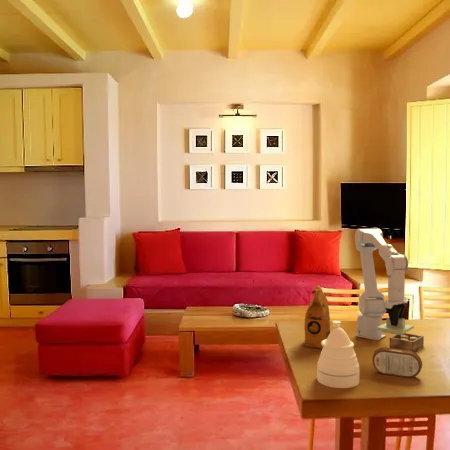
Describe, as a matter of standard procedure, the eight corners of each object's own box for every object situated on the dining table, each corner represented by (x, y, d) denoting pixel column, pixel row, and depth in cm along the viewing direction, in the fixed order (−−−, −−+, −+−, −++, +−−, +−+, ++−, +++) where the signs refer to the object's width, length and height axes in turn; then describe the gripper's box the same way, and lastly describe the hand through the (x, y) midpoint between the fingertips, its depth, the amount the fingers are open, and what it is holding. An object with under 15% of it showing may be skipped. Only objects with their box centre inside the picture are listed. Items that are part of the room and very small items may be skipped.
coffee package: (300, 347, 191) (300, 289, 190) (308, 338, 202) (308, 284, 201) (326, 350, 187) (327, 291, 186) (332, 341, 198) (333, 285, 197)
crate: (389, 348, 189) (389, 337, 189) (400, 342, 196) (400, 332, 196) (413, 352, 183) (413, 342, 183) (423, 346, 190) (423, 336, 190)
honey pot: (312, 373, 162) (312, 318, 161) (351, 372, 163) (352, 317, 162) (323, 388, 150) (323, 329, 149) (365, 387, 150) (365, 328, 149)
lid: (376, 332, 183) (377, 319, 183) (388, 326, 191) (388, 313, 191) (402, 336, 177) (403, 323, 177) (413, 330, 185) (414, 317, 185)
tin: (422, 377, 159) (422, 351, 158) (421, 380, 156) (421, 353, 155) (373, 370, 165) (373, 345, 165) (371, 373, 162) (371, 347, 162)
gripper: (399, 292, 175) (398, 330, 176) (414, 286, 186) (414, 322, 187) (379, 289, 180) (379, 327, 181) (395, 284, 191) (395, 319, 192)
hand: (395, 324), depth 184 cm, fingers closed on lid, 2 cm apart
